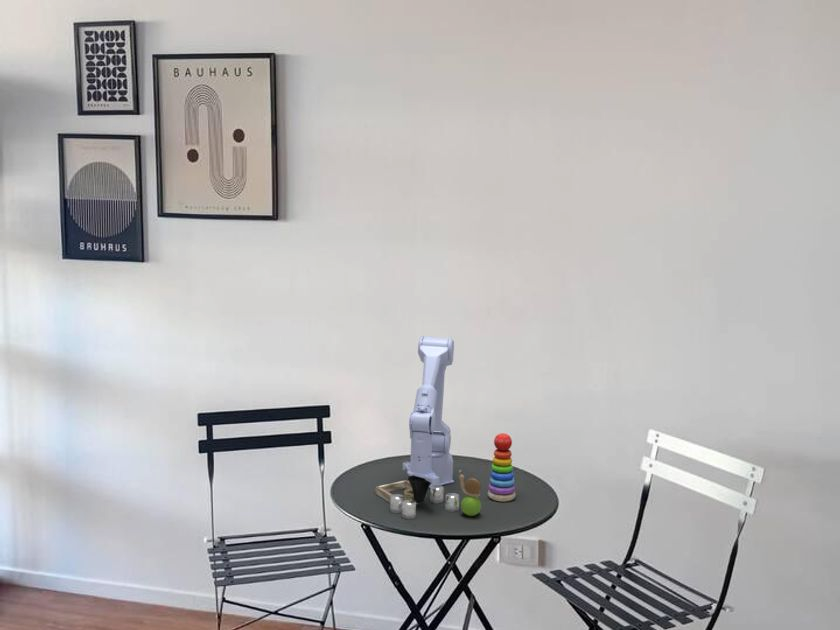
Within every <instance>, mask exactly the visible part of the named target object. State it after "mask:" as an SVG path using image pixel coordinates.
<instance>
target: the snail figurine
mask: <svg viewBox="0 0 840 630" xmlns="http://www.w3.org/2000/svg"><path fill="white" fill-rule="evenodd" d="M462 471H463V470H462V469H460V470H459V471H458V473H459V484H460V488H461V490H462V492H463V494H465V495H466V496H465V497H463V499H462V500H461V502H460V508H461V511H462V512H463V513H464V514H465V515H467V516H469V517H473V516H476V515H477V514H479V513H480V512H481V510H482V509H481V508H482V502H481V500H480V499H479V496H481V493H480V492H481V491H480V490H481V489H482V486H481V482H480V481H479V480H478V479H477V478H474V477H470V478H468V479H466V480H465V475H464V474H462ZM464 480H465V481H464Z"/></svg>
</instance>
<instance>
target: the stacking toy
mask: <svg viewBox="0 0 840 630" xmlns="http://www.w3.org/2000/svg"><path fill="white" fill-rule="evenodd" d="M493 445H494V447H495V448H496V449H495V450H494V451H493V457H492V464H491V472H490V478H489V484H488V491H487V496H488V498H490V499H492V500H493V501H497V502H509V501H512V500H514V499H515V497H516V495H517V494H516V492H515V490H516V489H515V488H516V486H515V478H514V476H515V474H514V471H513V469H514V466H513V464H512V463H513V459H512V451H511V450H510V449H511V447H512V445H513V440H512V437H511V436H510V435H509V434H508V433H503V432H502V433H498V434H497V435H496V436H495V437H494V439H493Z"/></svg>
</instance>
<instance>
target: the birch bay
mask: <svg viewBox="0 0 840 630" xmlns="http://www.w3.org/2000/svg"><path fill="white" fill-rule="evenodd" d="M402 489H405V490H408V489H412V487H411V484H410V482H409V480H408V479H403V480H399V481H396V482H391V483H387V484H382V485H377V486H375V487H374V494H375V495H377V496H378V497H380V498H382V499H383V500H385V501H386V502H388V503H390V499H391V495H393V494H392V493H390V492H394V491H398V490H402ZM427 493H428V492H427ZM427 493H426V496H425V499H426V498H427Z"/></svg>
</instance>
